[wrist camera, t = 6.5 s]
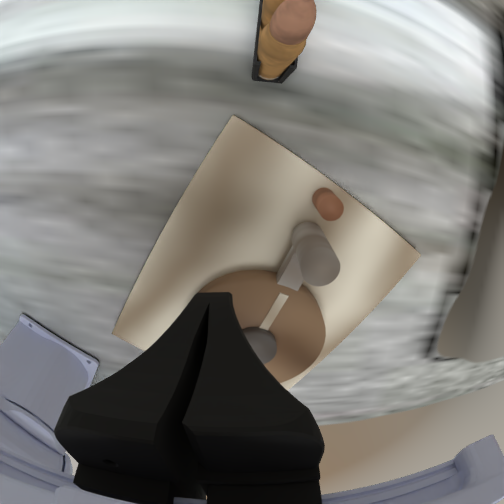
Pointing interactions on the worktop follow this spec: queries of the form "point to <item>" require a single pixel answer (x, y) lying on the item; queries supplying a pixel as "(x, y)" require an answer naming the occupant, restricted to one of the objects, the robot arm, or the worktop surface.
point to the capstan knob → (284, 303)
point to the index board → (263, 239)
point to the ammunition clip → (281, 37)
